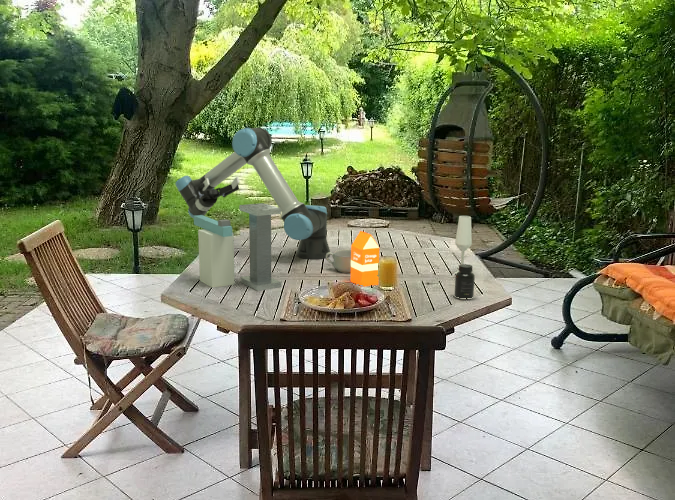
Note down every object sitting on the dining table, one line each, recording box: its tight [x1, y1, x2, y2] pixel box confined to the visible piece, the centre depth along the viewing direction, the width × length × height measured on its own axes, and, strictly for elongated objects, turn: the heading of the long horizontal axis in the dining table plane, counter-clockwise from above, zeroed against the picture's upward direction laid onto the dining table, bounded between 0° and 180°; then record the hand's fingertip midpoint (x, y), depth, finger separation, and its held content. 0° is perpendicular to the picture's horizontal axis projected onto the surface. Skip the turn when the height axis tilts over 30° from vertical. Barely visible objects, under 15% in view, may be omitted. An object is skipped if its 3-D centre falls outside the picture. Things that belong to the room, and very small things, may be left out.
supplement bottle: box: [453, 263, 476, 299], centre depth 232 cm, size 7×7×12 cm
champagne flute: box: [454, 215, 473, 273], centre depth 264 cm, size 7×7×24 cm
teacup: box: [325, 249, 351, 274], centre depth 268 cm, size 14×11×8 cm
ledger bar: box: [193, 215, 233, 237], centre depth 245 cm, size 28×4×6 cm, turn 34°
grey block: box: [197, 228, 235, 289], centre depth 245 cm, size 12×9×20 cm
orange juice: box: [350, 230, 380, 287], centre depth 248 cm, size 8×9×20 cm
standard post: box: [238, 203, 282, 292], centre depth 242 cm, size 14×10×30 cm
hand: (223, 180), depth 269 cm, fingers open, 13 cm apart
